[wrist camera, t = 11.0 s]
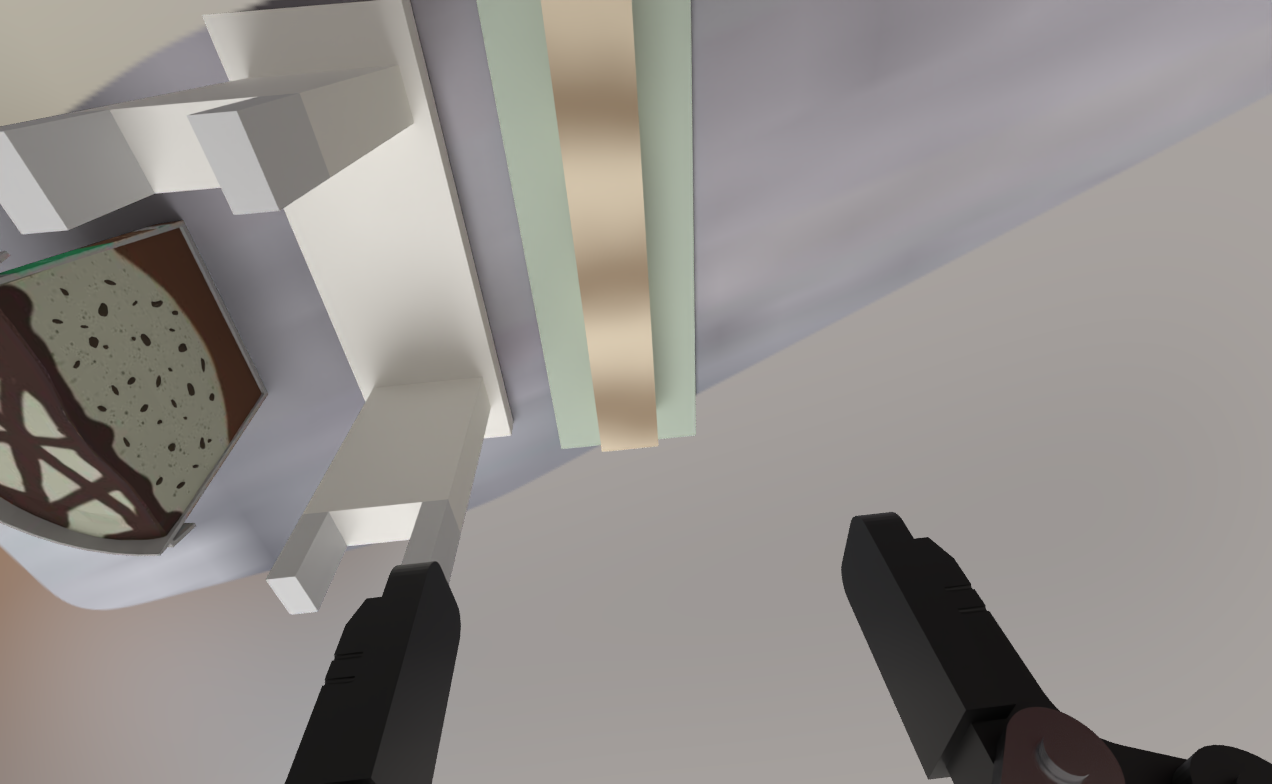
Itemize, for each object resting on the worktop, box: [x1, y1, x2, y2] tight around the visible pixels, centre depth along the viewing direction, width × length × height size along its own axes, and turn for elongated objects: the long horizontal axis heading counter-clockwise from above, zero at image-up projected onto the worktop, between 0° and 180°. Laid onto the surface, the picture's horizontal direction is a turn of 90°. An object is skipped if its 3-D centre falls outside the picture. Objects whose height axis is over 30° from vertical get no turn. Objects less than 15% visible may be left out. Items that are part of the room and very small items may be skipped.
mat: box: [476, 0, 696, 449], centre depth 26 cm, size 24×8×1 cm, turn 4°
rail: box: [541, 0, 658, 452], centre depth 25 cm, size 20×3×3 cm, turn 4°
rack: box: [0, 0, 514, 614], centre depth 21 cm, size 20×7×13 cm, turn 4°
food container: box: [0, 220, 268, 556], centre depth 23 cm, size 12×6×10 cm, turn 2°
